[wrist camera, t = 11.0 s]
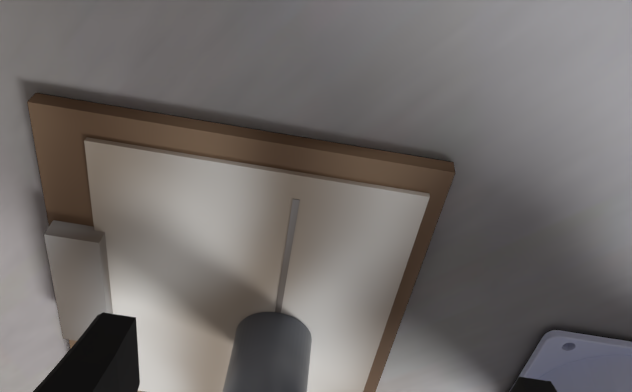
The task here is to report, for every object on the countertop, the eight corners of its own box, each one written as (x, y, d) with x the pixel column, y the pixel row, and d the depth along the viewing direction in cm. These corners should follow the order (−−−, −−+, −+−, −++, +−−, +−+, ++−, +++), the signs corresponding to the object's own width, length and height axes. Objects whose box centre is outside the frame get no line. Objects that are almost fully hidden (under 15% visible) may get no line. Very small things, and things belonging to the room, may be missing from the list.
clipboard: (453, 162, 20) (458, 187, 19) (360, 420, 30) (360, 447, 28) (35, 93, 19) (15, 114, 18) (82, 378, 29) (71, 404, 28)
